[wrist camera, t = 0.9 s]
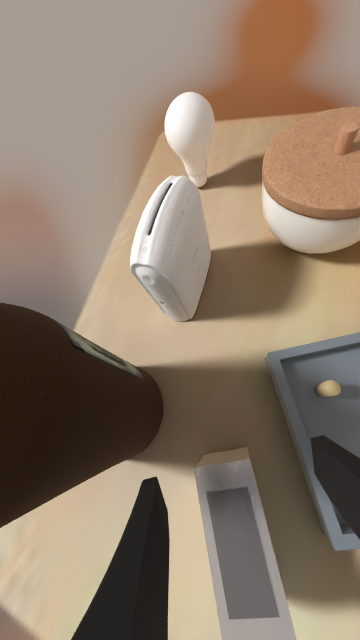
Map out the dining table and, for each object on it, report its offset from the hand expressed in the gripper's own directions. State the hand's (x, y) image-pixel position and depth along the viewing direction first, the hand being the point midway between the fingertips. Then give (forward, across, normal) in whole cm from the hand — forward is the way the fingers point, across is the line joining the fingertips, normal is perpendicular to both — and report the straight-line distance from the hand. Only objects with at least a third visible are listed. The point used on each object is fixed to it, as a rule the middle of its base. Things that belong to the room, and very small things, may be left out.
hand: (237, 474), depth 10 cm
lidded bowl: (+20, -18, -10) cm, 28 cm away
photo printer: (+21, -2, -7) cm, 22 cm away
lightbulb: (+30, -7, -20) cm, 37 cm away
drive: (+7, 0, +12) cm, 13 cm away
